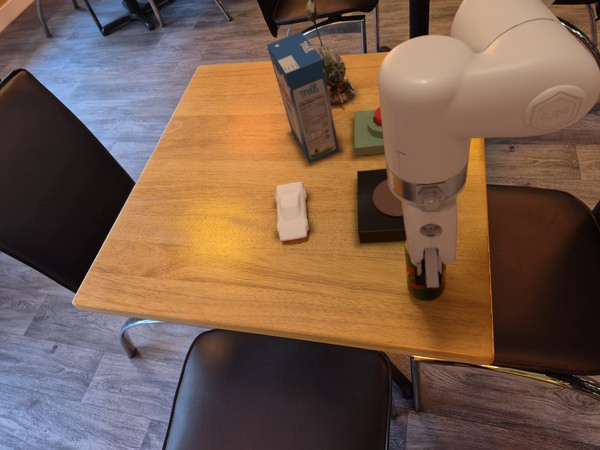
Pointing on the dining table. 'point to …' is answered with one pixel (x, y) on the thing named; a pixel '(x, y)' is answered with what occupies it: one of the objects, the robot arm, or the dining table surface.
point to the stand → (378, 208)
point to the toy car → (291, 211)
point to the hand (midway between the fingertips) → (425, 262)
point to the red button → (378, 117)
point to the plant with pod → (332, 66)
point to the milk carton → (304, 95)
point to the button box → (367, 134)
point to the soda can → (421, 291)
